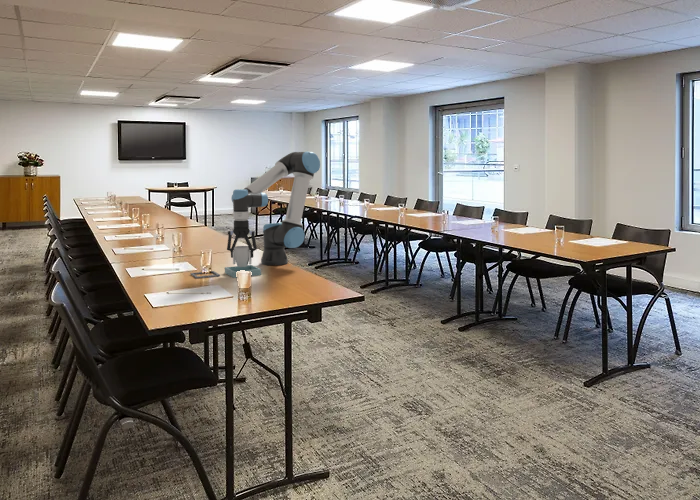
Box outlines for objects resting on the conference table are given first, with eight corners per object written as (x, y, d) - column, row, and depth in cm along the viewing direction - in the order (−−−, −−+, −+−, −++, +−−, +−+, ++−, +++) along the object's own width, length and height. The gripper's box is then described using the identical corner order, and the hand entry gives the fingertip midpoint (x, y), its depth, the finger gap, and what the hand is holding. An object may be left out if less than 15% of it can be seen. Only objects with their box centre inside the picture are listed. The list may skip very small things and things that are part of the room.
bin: (251, 270, 312) (251, 264, 312) (261, 274, 299) (261, 269, 299) (224, 273, 305) (224, 267, 305) (233, 277, 292) (233, 271, 292)
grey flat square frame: (213, 272, 307) (213, 270, 307) (220, 276, 297) (220, 274, 296) (190, 274, 301) (190, 273, 301) (196, 278, 291) (196, 277, 291)
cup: (252, 266, 300) (252, 247, 298) (237, 268, 296) (236, 248, 295) (247, 264, 307) (246, 245, 305) (232, 265, 303) (231, 246, 302)
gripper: (219, 220, 295) (220, 265, 298) (259, 220, 294) (260, 265, 297) (222, 219, 302) (224, 262, 305) (262, 219, 301) (263, 262, 305)
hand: (242, 263), depth 301 cm, fingers closed on cup, 8 cm apart
